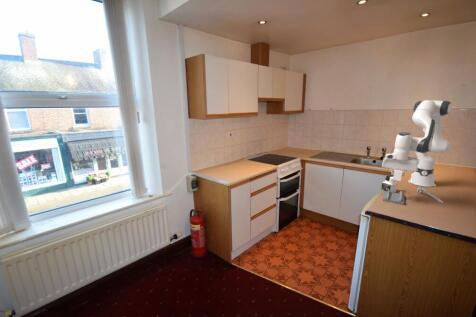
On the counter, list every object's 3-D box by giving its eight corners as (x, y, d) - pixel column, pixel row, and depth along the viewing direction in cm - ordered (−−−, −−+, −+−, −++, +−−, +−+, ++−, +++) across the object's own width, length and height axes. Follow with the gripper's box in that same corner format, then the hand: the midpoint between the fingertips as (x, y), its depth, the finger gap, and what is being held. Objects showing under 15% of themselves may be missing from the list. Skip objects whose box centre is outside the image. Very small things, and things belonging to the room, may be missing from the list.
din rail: (387, 191, 172) (388, 189, 171) (401, 193, 167) (401, 191, 166) (386, 199, 158) (386, 196, 157) (401, 202, 153) (401, 199, 152)
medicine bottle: (380, 190, 179) (382, 175, 176) (387, 188, 181) (389, 174, 178) (389, 193, 172) (391, 178, 169) (395, 192, 175) (398, 177, 172)
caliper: (416, 192, 175) (418, 184, 173) (417, 192, 175) (419, 184, 173) (442, 203, 155) (444, 194, 153) (443, 203, 155) (445, 194, 153)
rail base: (384, 192, 173) (385, 191, 173) (403, 196, 166) (404, 194, 166) (382, 200, 159) (383, 198, 159) (403, 204, 152) (404, 202, 152)
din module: (393, 176, 164) (394, 167, 162) (400, 178, 161) (402, 168, 159) (392, 179, 157) (394, 169, 156) (400, 181, 155) (402, 170, 153)
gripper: (419, 157, 152) (415, 176, 155) (383, 153, 164) (381, 171, 167) (420, 159, 147) (416, 179, 150) (383, 155, 159) (380, 174, 162)
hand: (397, 175), depth 159 cm, fingers closed on din module, 4 cm apart
